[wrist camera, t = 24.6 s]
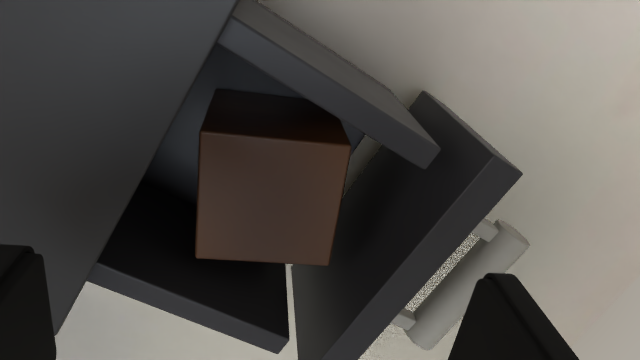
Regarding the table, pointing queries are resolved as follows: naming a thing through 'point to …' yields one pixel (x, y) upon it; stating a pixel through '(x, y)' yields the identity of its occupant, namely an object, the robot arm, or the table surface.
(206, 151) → the block
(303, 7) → the table surface
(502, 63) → the table surface
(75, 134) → the cabinet
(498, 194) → the drawer
